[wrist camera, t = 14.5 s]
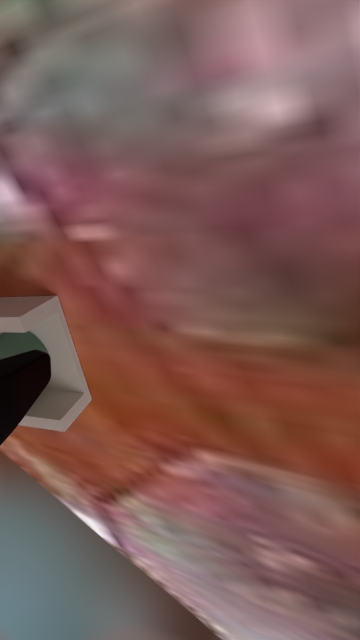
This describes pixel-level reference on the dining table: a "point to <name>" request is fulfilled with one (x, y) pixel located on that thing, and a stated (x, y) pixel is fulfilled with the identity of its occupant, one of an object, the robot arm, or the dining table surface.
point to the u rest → (66, 373)
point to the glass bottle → (19, 343)
